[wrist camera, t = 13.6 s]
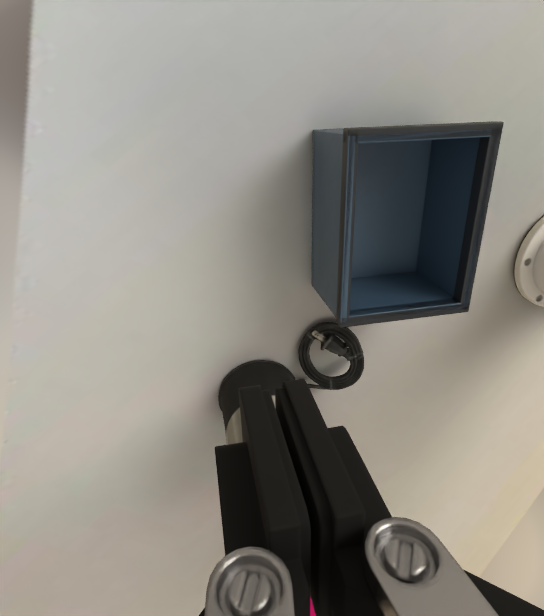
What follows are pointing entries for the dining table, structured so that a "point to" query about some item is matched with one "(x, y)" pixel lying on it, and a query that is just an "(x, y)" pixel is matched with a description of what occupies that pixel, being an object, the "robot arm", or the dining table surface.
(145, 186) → the dining table surface
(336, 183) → the blue storage bin
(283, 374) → the milk frother
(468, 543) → the dining table surface
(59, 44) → the dining table surface
